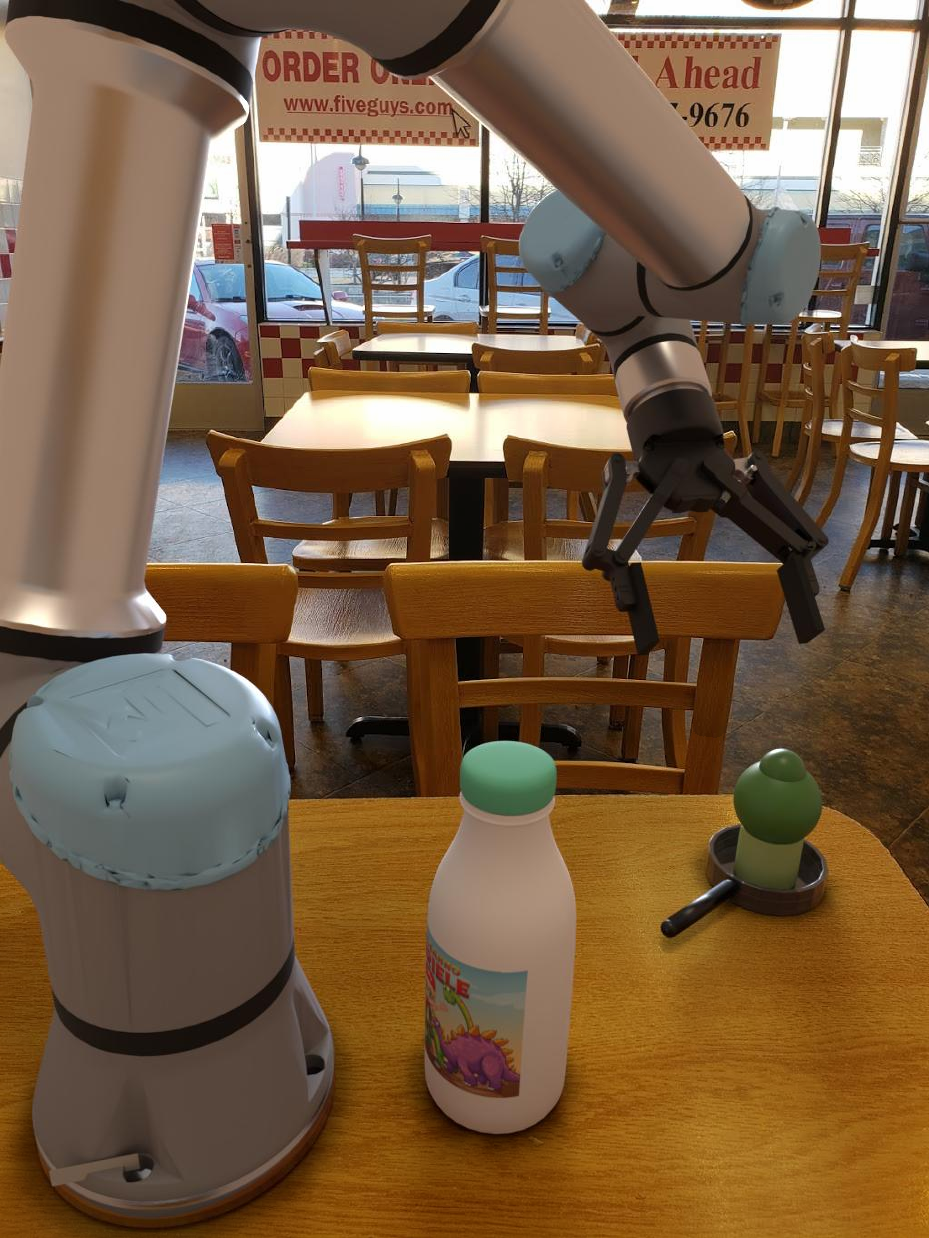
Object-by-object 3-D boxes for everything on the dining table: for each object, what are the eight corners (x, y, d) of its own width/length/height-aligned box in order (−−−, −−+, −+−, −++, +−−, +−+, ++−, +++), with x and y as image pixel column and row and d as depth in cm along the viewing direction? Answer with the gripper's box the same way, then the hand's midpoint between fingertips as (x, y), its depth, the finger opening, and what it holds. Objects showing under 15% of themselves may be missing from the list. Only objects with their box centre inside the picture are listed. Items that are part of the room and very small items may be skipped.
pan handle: (655, 934, 62) (657, 919, 61) (725, 887, 67) (727, 873, 66) (670, 944, 61) (672, 929, 61) (739, 896, 66) (742, 882, 65)
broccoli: (706, 870, 69) (723, 748, 65) (752, 840, 73) (771, 723, 69) (778, 911, 65) (801, 783, 61) (823, 877, 69) (847, 755, 65)
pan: (682, 873, 69) (685, 850, 69) (747, 833, 74) (750, 811, 74) (782, 932, 64) (787, 908, 63) (845, 884, 69) (849, 861, 68)
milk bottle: (509, 1006, 57) (525, 709, 50) (593, 1096, 51) (625, 774, 44) (398, 1060, 53) (397, 746, 46) (475, 1165, 47) (488, 823, 40)
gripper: (780, 434, 86) (850, 650, 77) (517, 439, 80) (562, 671, 72) (823, 383, 79) (904, 613, 71) (539, 384, 73) (591, 633, 65)
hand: (732, 643), depth 71 cm, fingers open, 13 cm apart
